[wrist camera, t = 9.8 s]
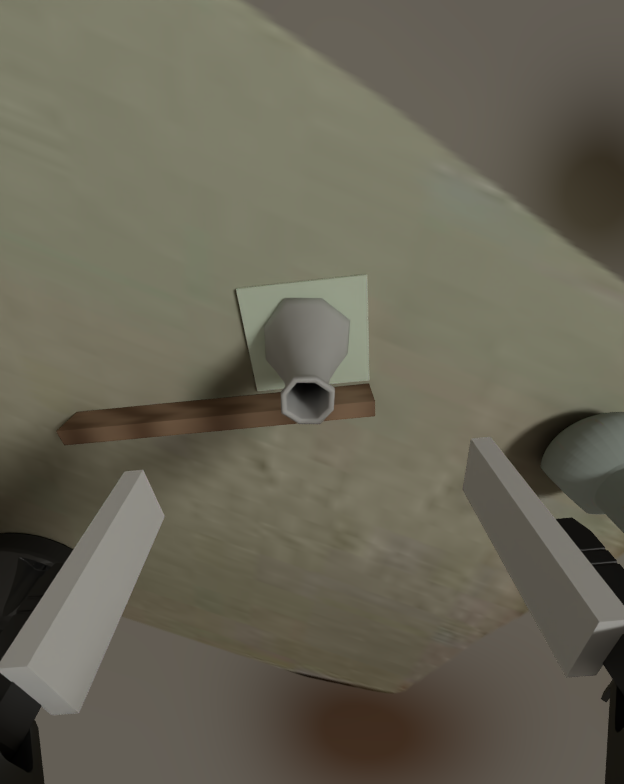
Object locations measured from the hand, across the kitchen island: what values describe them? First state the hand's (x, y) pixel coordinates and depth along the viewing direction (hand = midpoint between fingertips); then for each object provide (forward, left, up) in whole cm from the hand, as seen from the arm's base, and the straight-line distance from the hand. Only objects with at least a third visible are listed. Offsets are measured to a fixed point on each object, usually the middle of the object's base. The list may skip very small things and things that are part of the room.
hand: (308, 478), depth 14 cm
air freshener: (+27, -14, -17) cm, 35 cm away
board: (0, 0, -16) cm, 16 cm away
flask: (0, 0, -16) cm, 16 cm away
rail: (-8, -6, -16) cm, 19 cm away
